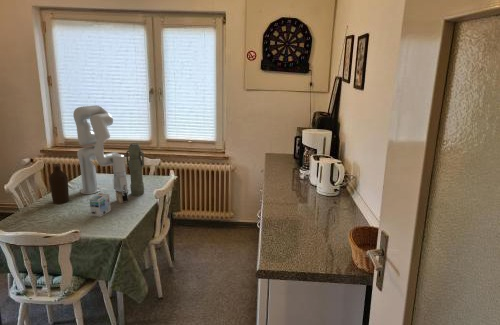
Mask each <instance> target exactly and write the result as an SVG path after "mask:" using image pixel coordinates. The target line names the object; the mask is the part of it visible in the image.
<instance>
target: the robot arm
mask: <svg viewBox="0 0 500 325" xmlns="http://www.w3.org/2000/svg"><path fill="white" fill-rule="evenodd" d="M72 117H73V120H74V123H75V126H76V134H77V140H78V144H79V145H80V146H85V147H81V148H79V149H78V150H77V153H76V154H77V159H78V162H79V166H80V167H79V168H80V177H81V185H82V187H81V188H82V189H81V190H80V193H81V194H82V195H92V194H94V195H95V194H96V193H99V192H101V188H100V187H98V180H97V179H98V178H97V169H96V165H95V163H94V162H93V161H95V160H96V161H97V164H98V165H99V166H101V167H107V166H112V171H113V189H114V190H115V193H116V192H122V194H123V196H122V197H123V203H125V202H124V201H126V202H128V200H129V199H128V194H129V189H128V181H127V169H126V167H127V166H126V157H125V155H124V154H122V153H121V154H120V153H118V152H116V151H113V152H108V153H104V152H105V149H104V143H105V142H106V141H107V140H108V139H110V137H111V134H110V131H109V129H108V127H109V126H112V125H113V124H114V119H113V116H112V115H111V113H109V112H108V111H107V110H106V109H105V108H103V107H102V106H100V105H86V106H85V105H84V106H83V105H82V106H79V107H76V108H75V109H74V110H73V116H72ZM88 120H89V121H88ZM91 127H92V129H91ZM91 145H92V146H91ZM124 192H125V193H124Z"/></svg>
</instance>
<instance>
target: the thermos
mask: <svg viewBox="0 0 500 325" xmlns="http://www.w3.org/2000/svg"><path fill="white" fill-rule="evenodd" d="M125 155H126V157H125V160H126V165H127V166H128V170H129V171H130V172H129V173H130V194H131V196H142V195H144V194H145V185H144V184H145V183H144V179H143V166H145V153H144V151H142V149H141V146H140V144H139V143H136V142H135V143H134V142H133V143H130V144H129V146H128V150H127V151H126V152H125Z"/></svg>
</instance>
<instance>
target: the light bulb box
mask: <svg viewBox="0 0 500 325" xmlns="http://www.w3.org/2000/svg"><path fill="white" fill-rule="evenodd" d="M110 199H111V198H110V194H109V193H102V192H100V193H99V192H98V194H96V195H94V196H92V197H91V198H89V207H90V208H89V209H90V215H91V217H100V218H102V217H103V216H105V215H106V214H108V213H109V212H111V201H110Z"/></svg>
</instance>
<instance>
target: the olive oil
mask: <svg viewBox="0 0 500 325" xmlns="http://www.w3.org/2000/svg"><path fill="white" fill-rule="evenodd" d="M68 179H69V178H68V175H67V174H66V173H65V172H64V171H62V170H61V166H60V163H55V164H53V172H52V173H51V174H50V175H49V177H48V183H49V187H50V192H51V198H52V203H53V204H54V205H62V204H66V203H68V202H69V201H70V195H69V182H68V181H69V180H68Z"/></svg>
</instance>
